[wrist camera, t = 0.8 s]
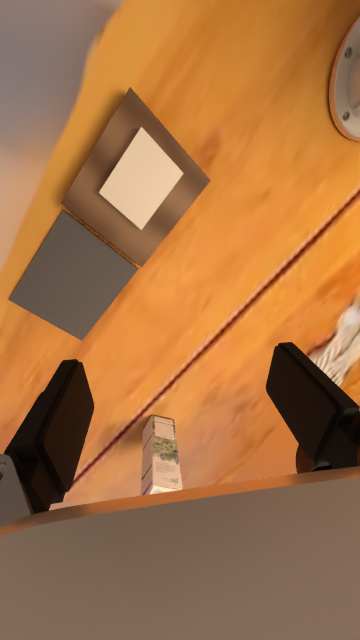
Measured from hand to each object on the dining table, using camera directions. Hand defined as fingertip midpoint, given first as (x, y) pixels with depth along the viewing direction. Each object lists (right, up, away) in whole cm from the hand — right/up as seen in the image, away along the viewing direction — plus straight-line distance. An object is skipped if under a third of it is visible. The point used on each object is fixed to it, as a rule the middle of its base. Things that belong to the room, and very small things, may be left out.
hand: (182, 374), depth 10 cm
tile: (-5, +19, +15) cm, 25 cm away
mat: (-16, +8, +22) cm, 29 cm away
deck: (-6, +20, +18) cm, 27 cm away
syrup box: (-5, -21, +39) cm, 45 cm away
